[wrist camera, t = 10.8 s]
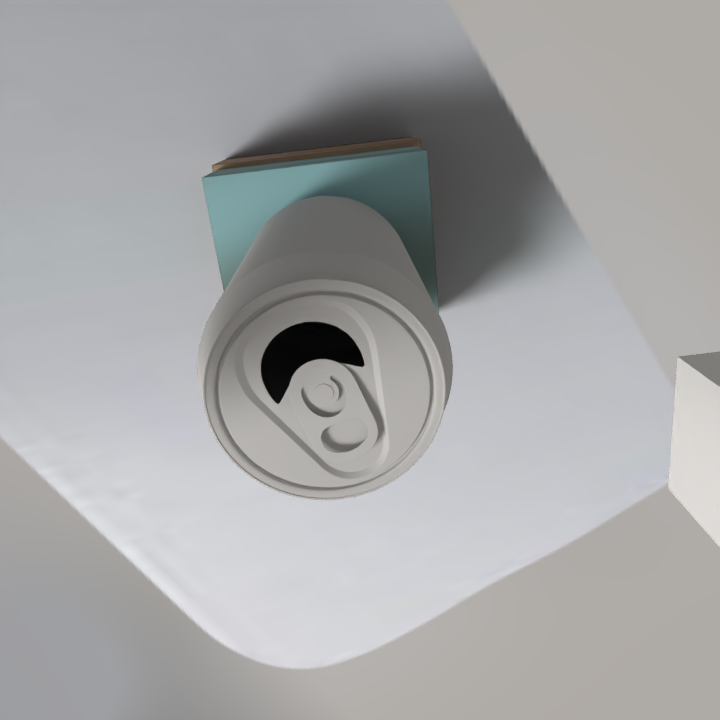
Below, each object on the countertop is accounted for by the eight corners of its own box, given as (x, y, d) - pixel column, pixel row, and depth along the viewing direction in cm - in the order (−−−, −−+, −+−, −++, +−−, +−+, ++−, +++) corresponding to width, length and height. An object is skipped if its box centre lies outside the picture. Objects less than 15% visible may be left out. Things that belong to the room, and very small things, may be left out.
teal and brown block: (224, 159, 31) (195, 173, 25) (411, 137, 31) (431, 144, 24) (256, 336, 34) (238, 389, 28) (425, 316, 34) (447, 364, 28)
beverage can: (368, 164, 25) (396, 211, 13) (432, 311, 27) (501, 456, 16) (219, 235, 25) (129, 334, 14) (293, 372, 28) (265, 552, 16)
